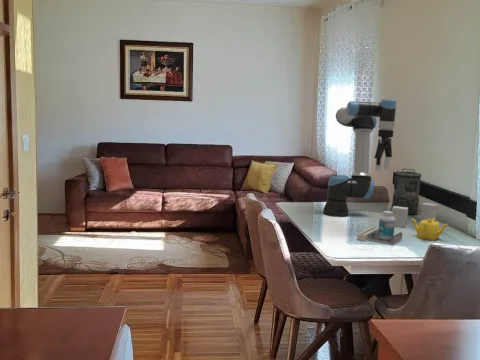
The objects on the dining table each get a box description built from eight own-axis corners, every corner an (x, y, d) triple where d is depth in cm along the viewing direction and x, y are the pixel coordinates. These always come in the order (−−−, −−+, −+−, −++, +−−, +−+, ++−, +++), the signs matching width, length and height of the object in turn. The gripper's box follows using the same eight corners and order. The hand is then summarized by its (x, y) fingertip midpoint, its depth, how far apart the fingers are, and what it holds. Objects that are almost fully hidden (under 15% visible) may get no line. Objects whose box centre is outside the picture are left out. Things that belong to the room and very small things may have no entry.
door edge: (357, 239, 264) (357, 232, 264) (370, 232, 281) (371, 226, 280) (364, 241, 262) (365, 234, 261) (378, 234, 279) (378, 227, 278)
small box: (406, 225, 303) (408, 207, 301) (405, 227, 298) (407, 209, 296) (392, 223, 306) (393, 205, 305) (390, 225, 301) (392, 207, 300)
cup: (436, 227, 304) (438, 206, 303) (421, 225, 306) (423, 204, 304) (434, 224, 312) (436, 203, 310) (419, 222, 314) (421, 202, 312)
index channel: (369, 240, 264) (369, 233, 263) (378, 235, 276) (378, 228, 275) (393, 245, 258) (394, 237, 257) (401, 239, 269) (402, 232, 269)
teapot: (423, 241, 268) (425, 222, 267) (407, 234, 282) (409, 216, 281) (448, 241, 272) (450, 222, 271) (432, 234, 286) (434, 216, 284)
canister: (390, 213, 338) (394, 168, 334) (392, 209, 353) (396, 166, 349) (416, 216, 333) (421, 171, 329) (417, 211, 347) (422, 168, 343)
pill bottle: (375, 236, 270) (378, 209, 268) (390, 236, 270) (392, 210, 268) (380, 240, 262) (383, 213, 260) (395, 240, 263) (398, 213, 261)
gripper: (385, 130, 265) (381, 173, 268) (400, 129, 286) (396, 169, 289) (370, 129, 269) (367, 171, 272) (386, 128, 290) (382, 167, 293)
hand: (382, 170), depth 281 cm, fingers open, 13 cm apart
